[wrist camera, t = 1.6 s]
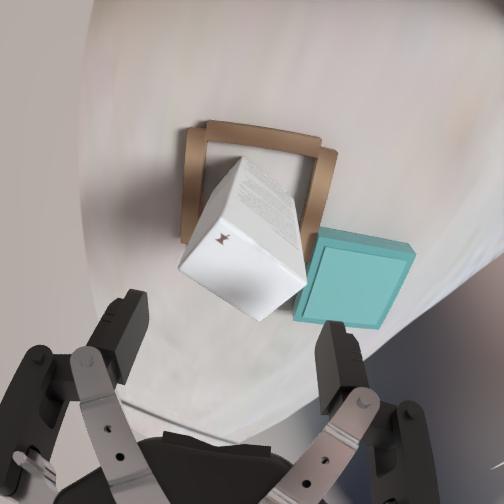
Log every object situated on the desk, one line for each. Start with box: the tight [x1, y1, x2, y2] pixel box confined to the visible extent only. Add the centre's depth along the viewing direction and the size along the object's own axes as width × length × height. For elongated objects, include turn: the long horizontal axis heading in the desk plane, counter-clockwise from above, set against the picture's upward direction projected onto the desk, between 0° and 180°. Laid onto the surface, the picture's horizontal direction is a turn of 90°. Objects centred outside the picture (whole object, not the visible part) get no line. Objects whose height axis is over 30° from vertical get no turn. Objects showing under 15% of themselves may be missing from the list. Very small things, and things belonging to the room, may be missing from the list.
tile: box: [292, 227, 416, 330], centre depth 29 cm, size 10×10×2 cm
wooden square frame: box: [181, 120, 338, 263], centre depth 26 cm, size 12×12×1 cm
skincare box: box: [178, 156, 307, 322], centre depth 21 cm, size 6×4×12 cm
